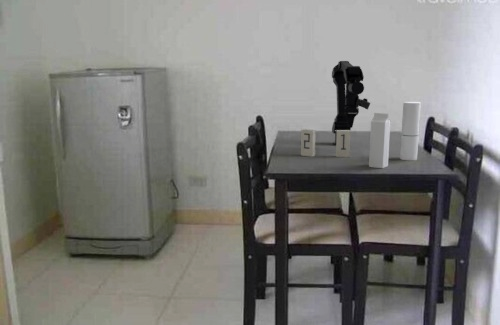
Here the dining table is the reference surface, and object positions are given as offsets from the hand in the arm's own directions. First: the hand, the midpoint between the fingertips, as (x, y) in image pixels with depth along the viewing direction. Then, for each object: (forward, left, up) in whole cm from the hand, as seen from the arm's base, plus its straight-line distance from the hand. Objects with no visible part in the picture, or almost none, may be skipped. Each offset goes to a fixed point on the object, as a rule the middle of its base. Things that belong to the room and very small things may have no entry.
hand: (350, 126), depth 222 cm
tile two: (+5, -22, -12) cm, 26 cm away
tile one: (+10, -7, -12) cm, 17 cm away
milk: (+32, +1, -13) cm, 34 cm away
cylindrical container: (+20, +20, -13) cm, 31 cm away
